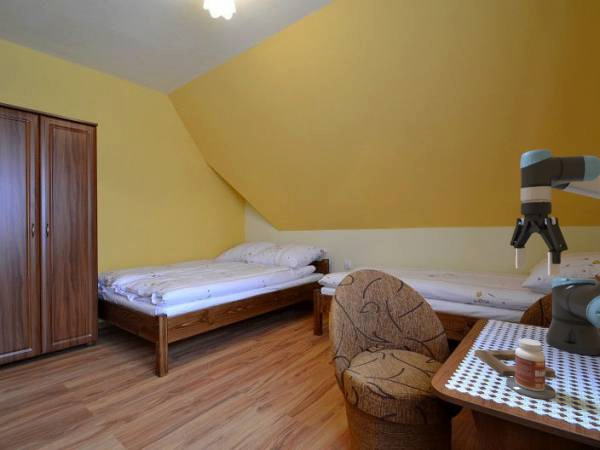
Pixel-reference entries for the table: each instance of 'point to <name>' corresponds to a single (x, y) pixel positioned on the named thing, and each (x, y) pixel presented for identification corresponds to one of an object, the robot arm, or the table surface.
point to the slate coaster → (545, 394)
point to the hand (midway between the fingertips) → (536, 271)
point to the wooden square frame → (492, 360)
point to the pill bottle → (530, 365)
